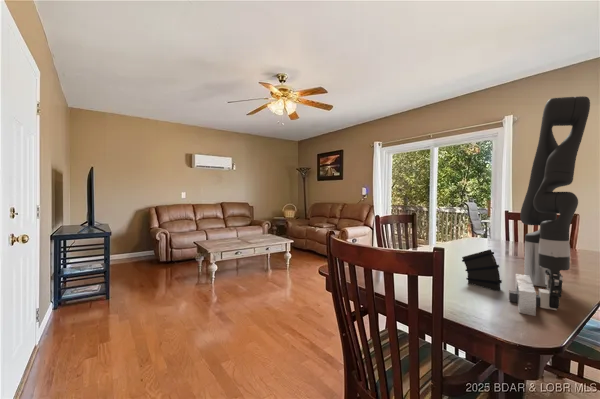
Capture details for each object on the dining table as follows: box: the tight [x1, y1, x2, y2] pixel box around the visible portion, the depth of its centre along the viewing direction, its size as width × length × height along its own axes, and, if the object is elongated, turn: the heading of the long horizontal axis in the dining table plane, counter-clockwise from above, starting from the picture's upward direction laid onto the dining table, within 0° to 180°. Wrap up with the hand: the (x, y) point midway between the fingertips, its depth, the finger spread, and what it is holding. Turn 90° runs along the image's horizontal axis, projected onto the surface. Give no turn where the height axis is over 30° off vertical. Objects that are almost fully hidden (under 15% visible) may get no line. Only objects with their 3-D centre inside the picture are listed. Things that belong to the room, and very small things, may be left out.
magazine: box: [461, 249, 503, 292], centre depth 111 cm, size 4×13×15 cm, turn 33°
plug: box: [508, 288, 561, 311], centre depth 93 cm, size 13×4×5 cm, turn 56°
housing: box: [514, 273, 537, 317], centre depth 94 cm, size 4×22×7 cm, turn 144°
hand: (552, 305), depth 90 cm, fingers closed on plug, 4 cm apart
